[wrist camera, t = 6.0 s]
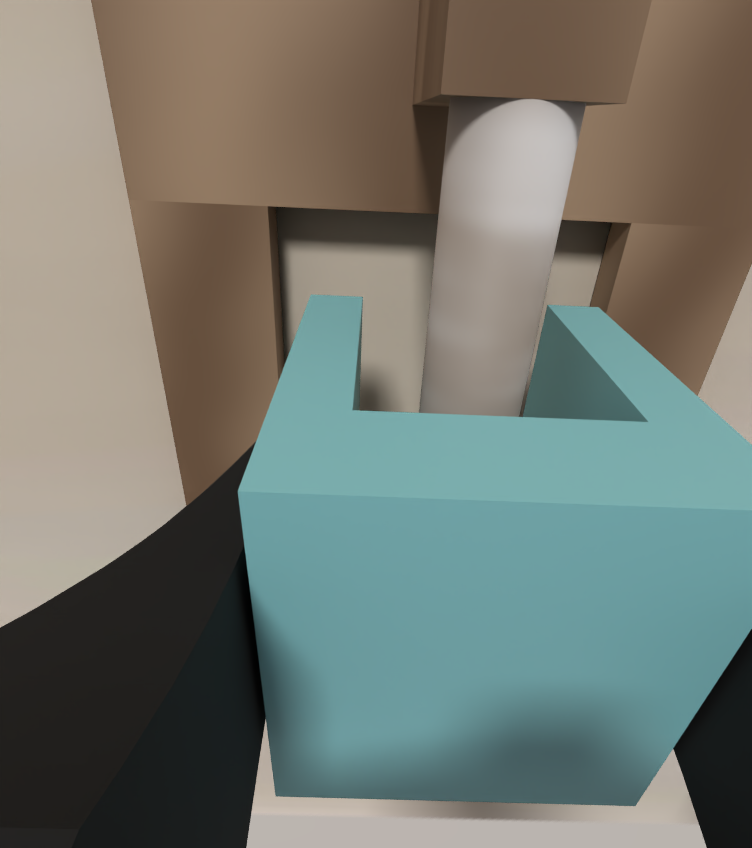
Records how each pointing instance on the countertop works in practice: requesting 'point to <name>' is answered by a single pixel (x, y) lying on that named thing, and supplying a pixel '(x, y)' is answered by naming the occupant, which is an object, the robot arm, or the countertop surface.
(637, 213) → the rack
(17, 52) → the countertop surface
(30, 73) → the countertop surface
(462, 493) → the teal notched block
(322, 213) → the countertop surface
